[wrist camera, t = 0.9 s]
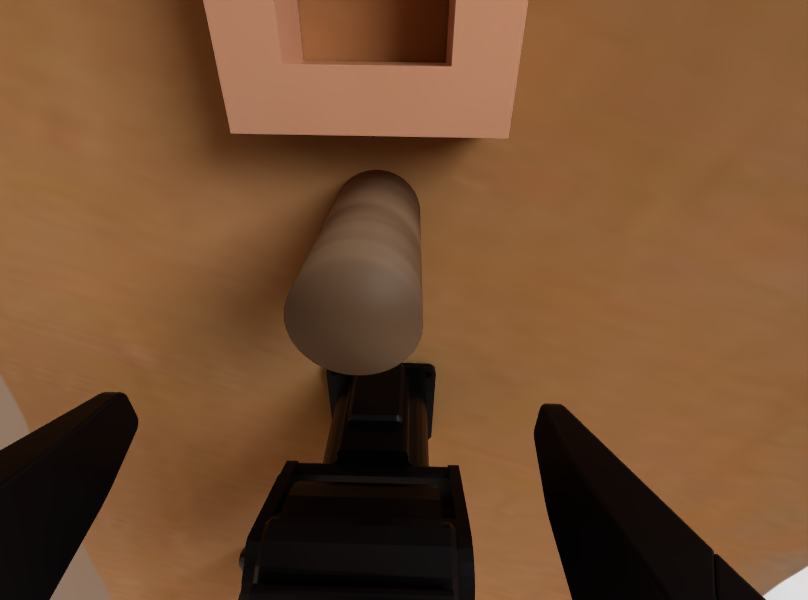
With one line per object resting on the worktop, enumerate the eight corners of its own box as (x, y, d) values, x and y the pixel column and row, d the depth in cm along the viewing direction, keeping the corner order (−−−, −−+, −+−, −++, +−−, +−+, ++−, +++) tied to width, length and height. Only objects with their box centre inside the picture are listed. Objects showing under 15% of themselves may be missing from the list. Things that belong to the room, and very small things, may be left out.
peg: (418, 251, 20) (420, 376, 13) (339, 249, 20) (294, 373, 13) (421, 170, 18) (425, 263, 10) (332, 169, 18) (273, 260, 11)
